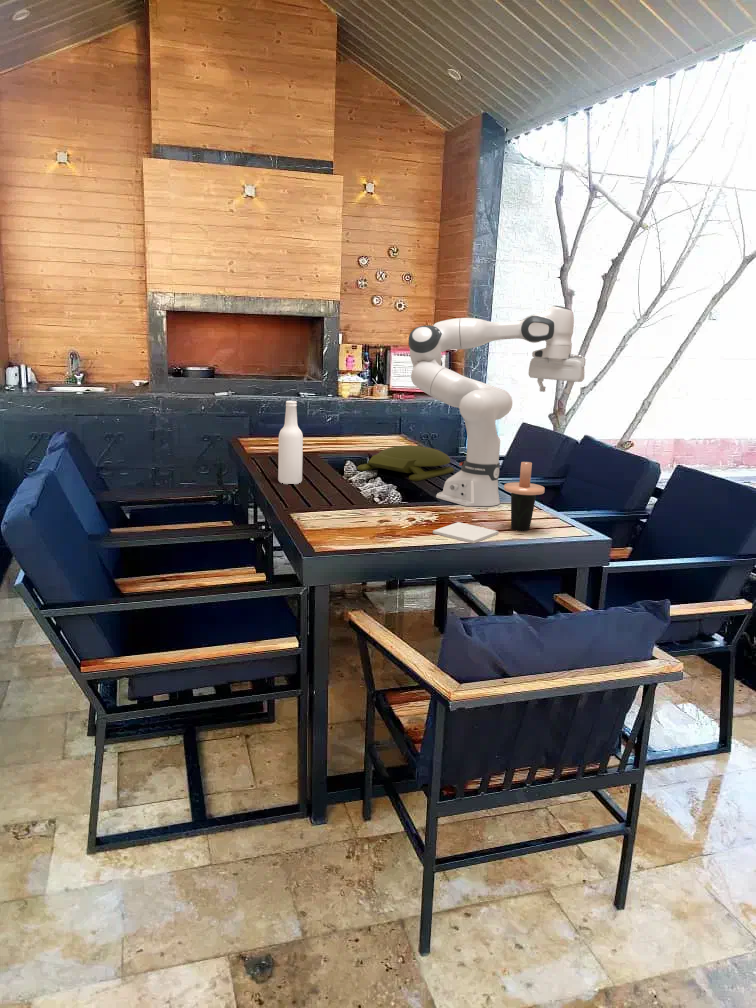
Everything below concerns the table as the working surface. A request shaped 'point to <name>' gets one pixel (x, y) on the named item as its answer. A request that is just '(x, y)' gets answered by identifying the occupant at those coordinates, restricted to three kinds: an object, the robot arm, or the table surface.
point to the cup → (521, 511)
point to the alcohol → (290, 448)
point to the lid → (524, 483)
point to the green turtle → (410, 461)
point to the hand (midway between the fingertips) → (554, 392)
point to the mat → (465, 532)
